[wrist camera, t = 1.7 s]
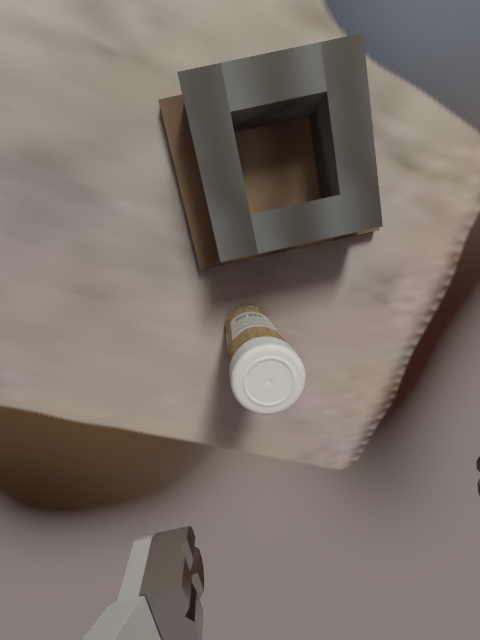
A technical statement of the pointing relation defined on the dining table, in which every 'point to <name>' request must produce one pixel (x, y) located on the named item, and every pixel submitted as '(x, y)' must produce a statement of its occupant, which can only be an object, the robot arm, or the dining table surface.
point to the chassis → (275, 151)
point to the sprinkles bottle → (261, 363)
